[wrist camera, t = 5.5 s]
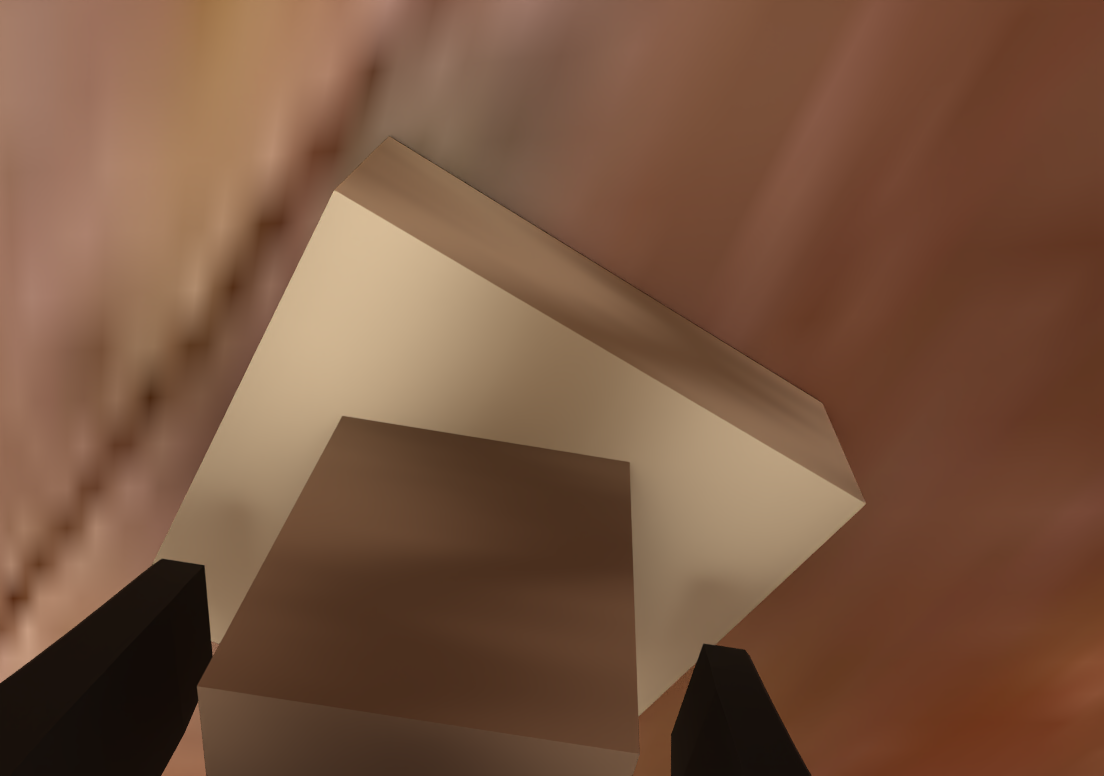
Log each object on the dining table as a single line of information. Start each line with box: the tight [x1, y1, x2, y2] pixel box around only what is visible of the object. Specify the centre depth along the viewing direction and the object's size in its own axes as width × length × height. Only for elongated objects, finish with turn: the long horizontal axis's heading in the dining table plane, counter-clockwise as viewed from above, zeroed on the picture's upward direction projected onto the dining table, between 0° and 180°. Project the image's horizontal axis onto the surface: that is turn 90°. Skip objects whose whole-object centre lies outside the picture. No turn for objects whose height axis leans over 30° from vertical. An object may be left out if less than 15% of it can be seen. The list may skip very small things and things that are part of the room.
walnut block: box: [197, 416, 640, 776], centre depth 11 cm, size 4×4×5 cm
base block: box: [152, 136, 866, 717], centre depth 15 cm, size 9×9×3 cm
